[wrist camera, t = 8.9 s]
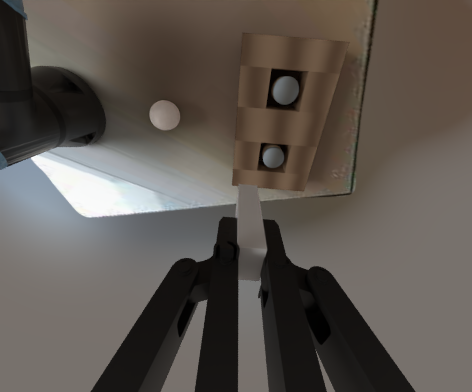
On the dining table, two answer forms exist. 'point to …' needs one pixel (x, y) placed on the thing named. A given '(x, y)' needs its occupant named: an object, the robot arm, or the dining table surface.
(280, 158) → the dowel
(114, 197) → the dining table surface
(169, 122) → the egg
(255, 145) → the walnut board
